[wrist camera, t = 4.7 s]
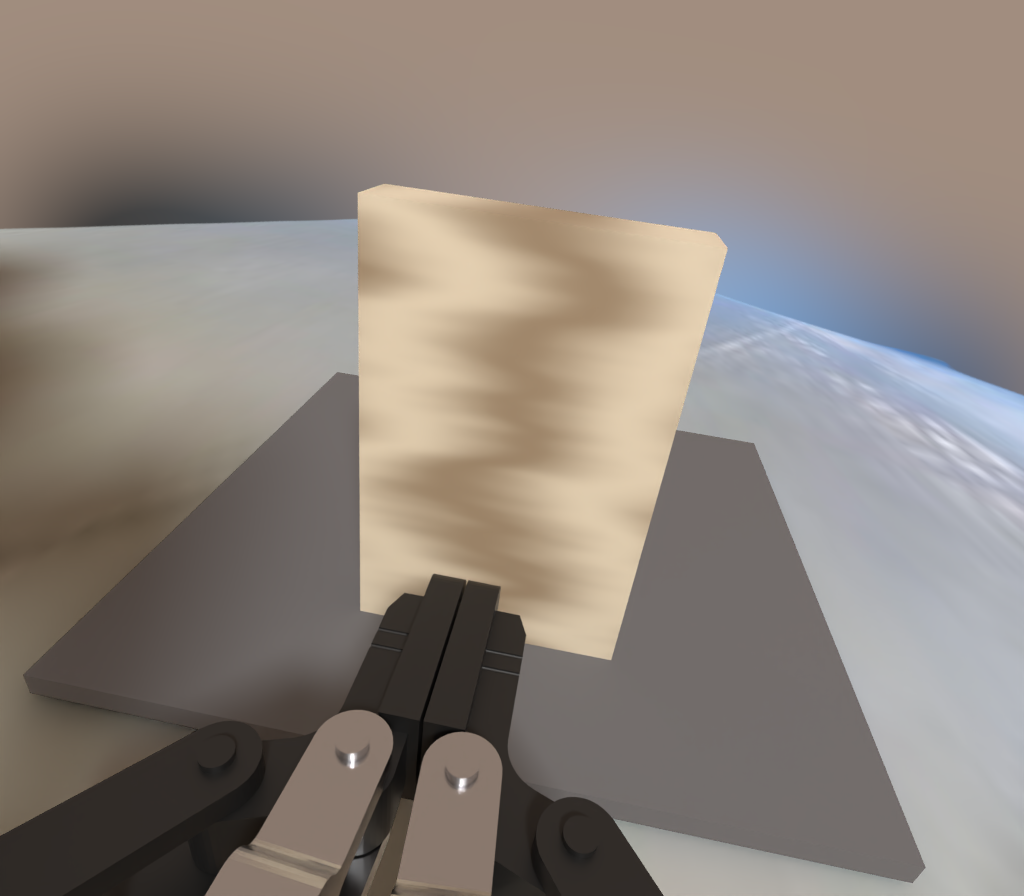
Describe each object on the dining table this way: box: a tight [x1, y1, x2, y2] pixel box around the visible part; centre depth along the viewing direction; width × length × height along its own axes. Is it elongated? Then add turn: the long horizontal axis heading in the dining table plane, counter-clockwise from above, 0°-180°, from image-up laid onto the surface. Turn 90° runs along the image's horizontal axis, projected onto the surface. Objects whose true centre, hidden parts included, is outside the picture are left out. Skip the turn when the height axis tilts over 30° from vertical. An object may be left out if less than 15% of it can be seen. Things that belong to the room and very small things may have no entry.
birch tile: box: [358, 184, 727, 660], centre depth 19 cm, size 9×2×14 cm, turn 82°
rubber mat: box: [23, 372, 925, 883], centre depth 28 cm, size 26×24×1 cm
